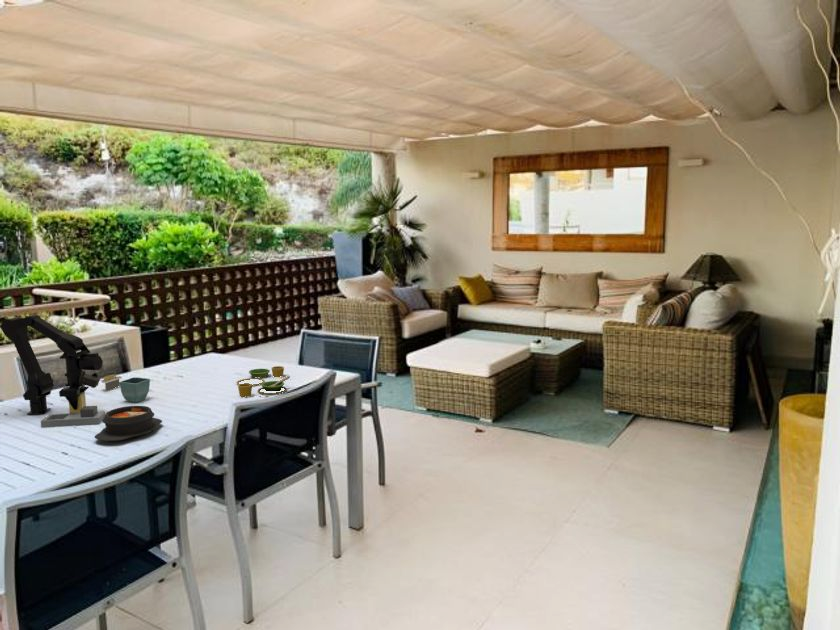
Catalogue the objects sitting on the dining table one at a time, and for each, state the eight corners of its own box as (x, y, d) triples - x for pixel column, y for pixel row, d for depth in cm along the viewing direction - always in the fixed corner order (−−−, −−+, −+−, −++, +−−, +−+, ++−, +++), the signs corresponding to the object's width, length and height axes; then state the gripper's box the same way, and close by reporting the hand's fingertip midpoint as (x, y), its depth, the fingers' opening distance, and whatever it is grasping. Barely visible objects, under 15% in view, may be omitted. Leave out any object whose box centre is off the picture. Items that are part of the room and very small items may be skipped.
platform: (85, 393, 276) (83, 379, 274) (116, 383, 292) (114, 370, 291) (106, 396, 272) (105, 381, 271) (136, 385, 289) (135, 372, 288)
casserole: (134, 420, 239) (133, 399, 237) (174, 425, 233) (173, 404, 232) (81, 442, 215) (79, 419, 214) (124, 448, 209) (122, 425, 208)
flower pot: (152, 398, 267) (150, 378, 266) (137, 404, 259) (136, 383, 257) (134, 397, 269) (133, 376, 268) (120, 402, 261) (118, 382, 260)
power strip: (49, 420, 238) (48, 406, 237) (105, 417, 242) (104, 404, 241) (41, 427, 230) (39, 413, 229) (99, 424, 234) (98, 410, 233)
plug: (74, 412, 248) (72, 389, 246) (86, 411, 249) (84, 388, 247) (70, 415, 243) (67, 392, 242) (82, 415, 244) (80, 391, 243)
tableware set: (279, 400, 267) (279, 386, 266) (217, 398, 270) (216, 384, 269) (304, 376, 308) (304, 363, 307) (250, 374, 310) (250, 362, 309)
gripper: (89, 374, 236) (92, 413, 238) (103, 363, 254) (106, 400, 256) (57, 375, 234) (60, 415, 236) (74, 364, 252) (77, 401, 254)
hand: (77, 407), depth 246 cm, fingers closed on plug, 5 cm apart
